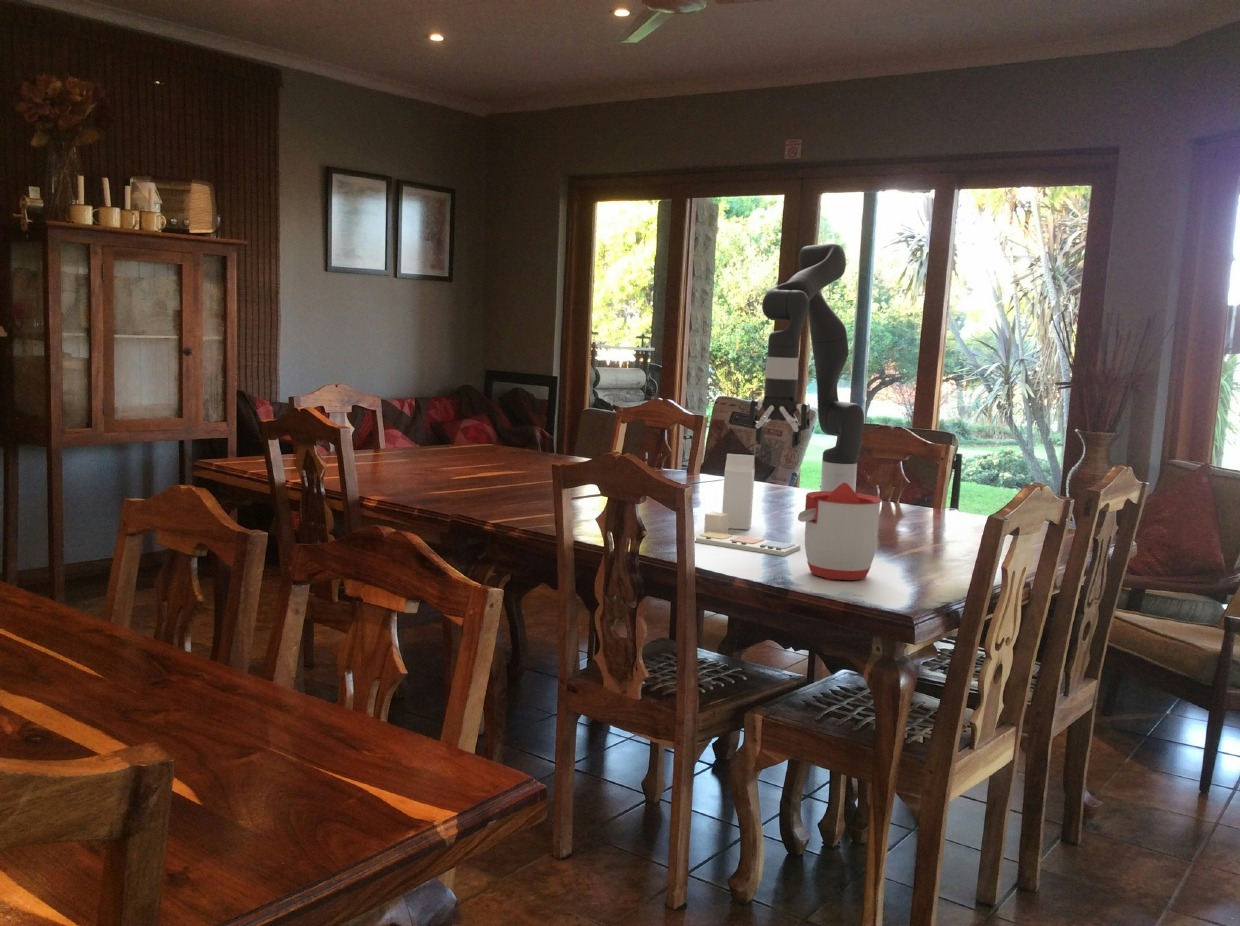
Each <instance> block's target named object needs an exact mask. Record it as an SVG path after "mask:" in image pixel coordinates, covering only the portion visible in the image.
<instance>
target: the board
mask: <svg viewBox="0 0 1240 926" xmlns="http://www.w3.org/2000/svg"><path fill="white" fill-rule="evenodd" d="M695 536H696V542H695V543H698V544H699V543H700V544H705V545H710V546H711V545H712V546H718V547H724V548H731V549H737V550H743V551H750V552H755V553H756V552H757V553H762V554H768V555H775V556H782V557H786V556H787V555H790V554H792V553H796V552H797V551H799V550H801V545H800V544H794V543H788V542H781V541H775V540H769V539H761V538H754V537H749V536H741V535H736V534H735V535H734V534H729V533H728V534H723V533H716V532H706V533H704V532H703V533H701V534H697V535H695Z"/></svg>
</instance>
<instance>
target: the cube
mask: <svg viewBox="0 0 1240 926" xmlns="http://www.w3.org/2000/svg"><path fill="white" fill-rule="evenodd" d="M728 527H729V514H725V513H722V512H716V511H711V512H707V513H705V514H704V527H703V528H704V529H703V533H706V532H716V533H723V534H729V528H728Z"/></svg>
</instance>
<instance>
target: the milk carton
mask: <svg viewBox="0 0 1240 926" xmlns="http://www.w3.org/2000/svg"><path fill="white" fill-rule="evenodd" d="M755 457H756V456H755V455H753V454H752V455H751V454H750V455H749V454H739V453H738V454H736V453H726V460H725V467H724V475H723V476H724V479H723V494H722V496H723V497H722V512H721V513H725V514H729V527H728V529H734V530H735V529H736V530H746V531H747V530H750V529H751V527H752V516H753V514H752V513H753V504H754V503H753V501H754V488H755V487H754V485H755V484H754V483H755V470H756V469H755Z"/></svg>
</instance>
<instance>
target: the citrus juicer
mask: <svg viewBox="0 0 1240 926" xmlns="http://www.w3.org/2000/svg"><path fill="white" fill-rule="evenodd" d="M882 501H883V500H882V499H881V498H880V497H878V496H876V495H875V496H874V495H871V494H864V493H857V492H856V491H855V492H854V491H853V489H852V488H851V487H850V486H849V485H848V484H847V483H845V482H844V483H842V484H841V485H839V486H838V487H837V488H836V489H835V490H834V491H820V490H819V491H811V492H807V493H806V495H805V509H804V510H803V511H800V512H799V513H798V515H797V516H798V517H797V521H798V522H801V523H804V522H805V526H804V546H805V547H804V549H805V555H806V559H807V565H808V568H809V571H810V573H812V574H813V575H815V576H818V577H821V578H825V579H826V580H829V581H835V580H845V581H854V580H857V581H861V580H863V579H865V578H867V575H868V573H869V571H870V570H871V567H872V563H873V561H874V557H875V554H876V550H877V543H878V536H879V535H878V534H879V521H880V520H879V519H880V511H881V510H880V508H881V507H880V506H881V503H882Z"/></svg>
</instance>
